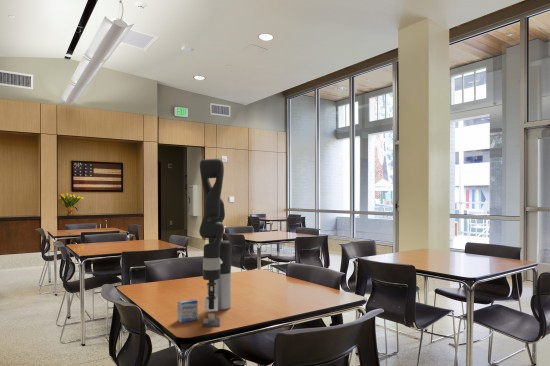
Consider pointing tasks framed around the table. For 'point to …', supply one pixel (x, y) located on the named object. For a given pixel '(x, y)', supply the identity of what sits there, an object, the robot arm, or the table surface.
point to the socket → (214, 304)
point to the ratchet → (211, 321)
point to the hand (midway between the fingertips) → (211, 307)
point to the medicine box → (187, 310)
